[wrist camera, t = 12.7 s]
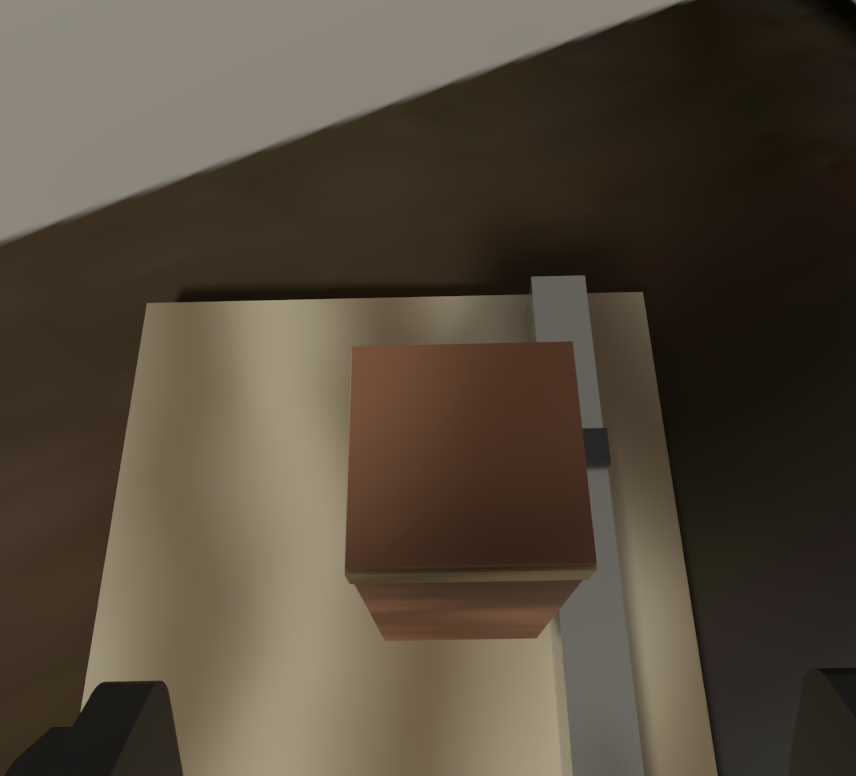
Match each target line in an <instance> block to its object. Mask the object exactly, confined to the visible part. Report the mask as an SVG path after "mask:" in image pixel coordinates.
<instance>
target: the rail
mask: <svg viewBox="0 0 856 776" xmlns="http://www.w3.org/2000/svg"><path fill="white" fill-rule="evenodd" d="M526 321H527V334H528V342H567V341H573V347H574V356H575V366H576V375H577V384H578V393H579V403H580V412H581V421H582V431H583V440H584V449H585V458H586V468H587V477H588V486H589V495H590V505H591V514H592V523H593V532H594V542H595V551H596V560H597V563H596V566H597V570H596V571H595V573H594V574H593V575H592V576H591V577H590V579H589V580H583V581H582V582H581V583H580V584H579V586H578V587H577V588H576V589H575V591H574V592H573V593H572V594H571V596H570V597H569V598H568V599H567V601H566V602H565V603H564V604H563V606H562V607H561V608H560V609H559V611H558V612H557V613H556V614H555V616H554V617H553V618H552V620H551V621H550V627H551V640H552V653H553V666H554V678H555V691H556V704H557V717H558V729H559V742H560V755H561V768H562V776H644V769H643V761H642V752H641V744H640V736H639V727H638V719H637V710H636V702H635V693H634V685H633V677H632V668H631V660H630V651H629V643H628V634H627V626H626V618H625V609H624V601H623V592H622V584H621V575H620V567H619V559H618V550H617V542H616V533H615V525H614V516H613V508H612V500H611V491H610V483H609V474H608V466H610V464H611V458H610V449H609V441H608V433H607V428H603V424H602V415H601V407H600V399H599V390H598V382H597V373H596V365H595V356H594V348H593V340H592V331H591V323H590V314H589V306H588V297H587V289H586V281H585V275H583V276H540V277H531V280H530V286H529V291H528V297H527V302H526Z"/></svg>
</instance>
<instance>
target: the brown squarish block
mask: <svg viewBox="0 0 856 776" xmlns="http://www.w3.org/2000/svg"><path fill="white" fill-rule="evenodd" d="M596 563H597V560H596V551H595V542H594V532H593V523H592V514H591V505H590V495H589V486H588V477H587V468H586V458H585V449H584V440H583V431H582V421H581V412H580V403H579V393H578V384H577V375H576V366H575V356H574V347H573V341H567V342H524V343H481V344H438V345H395V346H352V352H351V375H350V408H349V441H348V474H347V508H346V541H345V574H344V575H345V577H346V578H347V580H348V582H349V584H355V586H356V588H357V590H358V592H359V594H360V596H361V597H362V599H363V601H364V603H365V605H366V607H367V609H368V610H369V612H370V614H371V616H372V618H373V620H374V622H375V624H376V625H377V627H378V629H379V631H380V633H381V635H382V637H383V638H384V640H385V641H425V640H479V639H532V638H537V637H538V636H539V635H540V633H541V632H542V631H543V630H544V628H545V627H546V626H547V625H548V623H549V622H550V621H551V620H552V618H553V617H554V616H555V614H556V613H557V612H558V611H559V609H560V608H561V607H562V606H563V604H564V603H565V602H566V601H567V599H568V598H569V597H570V596H571V594H572V593H573V592H574V591H575V589H576V588H577V587H578V586H579V584H580V583H581V582H582V581H583V580H589V579H590V577H591V576H592V575H593V574H594V573H595V571H596V570H597V566H596Z"/></svg>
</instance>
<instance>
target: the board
mask: <svg viewBox="0 0 856 776" xmlns="http://www.w3.org/2000/svg"><path fill="white" fill-rule="evenodd" d="M527 297H528V295H486V296H442V297H398V298H354V299H310V300H265V301H221V302H177V303H147V307H146V313H145V319H144V326H143V332H142V338H141V344H140V350H139V356H138V362H137V368H136V375H135V381H134V387H133V393H132V399H131V405H130V411H129V418H128V424H127V430H126V436H125V442H124V448H123V454H122V461H121V467H120V473H119V479H118V485H117V491H116V497H115V503H114V510H113V516H112V522H111V528H110V534H109V540H108V546H107V553H106V559H105V565H104V571H103V577H102V583H101V589H100V596H99V602H98V608H97V614H96V620H95V626H94V632H93V638H92V645H91V651H90V657H89V663H88V669H87V675H86V681H85V688H84V694H83V700H82V706H81V711H82V709H83V708H84V706H85V704H86V702H87V701H88V699H89V697H90V695H91V694H92V692H93V691H94V689H95V688H96V687H97V686H98V684H100V683H101V682H114V681H163V682H164V683H165V684H166V685H167V688H168V691H169V695H170V701H171V707H172V712H173V718H174V724H175V730H176V736H177V741H178V747H179V753H180V759H181V765H182V771H183V776H562V768H561V755H560V742H559V729H558V717H557V704H556V691H555V678H554V666H553V653H552V640H551V627H550V622H549V623H548V625H547V626H546V627H545V628H544V630H543V631H542V632H541V633H540V635H539V636H538V637H537V638H532V639H479V640H425V641H385V640H384V638H383V637H382V635H381V633H380V631H379V629H378V627H377V625H376V624H375V622H374V620H373V618H372V616H371V614H370V612H369V610H368V609H367V607H366V605H365V603H364V601H363V599H362V597H361V596H360V594H359V592H358V590H357V588H356V586H355V584H349V582H348V580H347V578H346V577H345V575H344V574H345V541H346V508H347V474H348V441H349V408H350V375H351V352H352V346H395V345H438V344H481V343H524V342H528V334H527V321H526V302H527ZM587 297H588V306H589V314H590V323H591V331H592V340H593V348H594V356H595V365H596V373H597V382H598V390H599V399H600V407H601V415H602V424H603V428H607V433H608V441H609V449H610V458H611V464H610V466H608V474H609V483H610V491H611V500H612V508H613V516H614V525H615V533H616V542H617V550H618V559H619V567H620V575H621V584H622V592H623V601H624V609H625V618H626V626H627V634H628V643H629V651H630V660H631V668H632V677H633V685H634V693H635V702H636V710H637V719H638V727H639V736H640V744H641V752H642V761H643V769H644V776H718V775H717V768H716V762H715V755H714V749H713V742H712V736H711V729H710V723H709V716H708V710H707V703H706V697H705V691H704V684H703V678H702V671H701V665H700V658H699V652H698V645H697V639H696V632H695V626H694V619H693V613H692V607H691V600H690V594H689V587H688V581H687V574H686V568H685V561H684V555H683V548H682V542H681V535H680V529H679V522H678V516H677V510H676V503H675V497H674V490H673V484H672V477H671V471H670V464H669V458H668V451H667V445H666V438H665V432H664V426H663V419H662V413H661V406H660V400H659V393H658V387H657V380H656V374H655V367H654V361H653V354H652V348H651V342H650V335H649V329H648V322H647V316H646V309H645V303H644V296H643V292H619V293H587ZM80 713H81V712H80Z"/></svg>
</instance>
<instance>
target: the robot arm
mask: <svg viewBox="0 0 856 776" xmlns="http://www.w3.org/2000/svg"><path fill="white" fill-rule="evenodd" d="M5 776H183V771H182V765H181V759H180V753H179V747H178V741H177V736H176V730H175V724H174V718H173V712H172V707H171V701H170V695H169V691H168V688H167V685H166V684H165V683H164V682H163V681H114V682H101V683H100V684H98V686H97V687H96V688H95V689H94V691H93V692H92V694H91V695H90V697H89V699H88V701H87V702H86V704H85V706H84V708H83V709H82V711H81V713H80V715H79V716H78V718H77V720H76V722H75V723H74V725H73V727H52V728H51V729H49V730H48V731H47V732H46V733H45V734H44V735H43V736H42V737H40V738H39V739H38V740H37V741H36V742H35V743H34V744H33V745H31V746H30V747H29V748H28V749H27V750H26V751H25V752H24V753H22V754H21V755H20V756H19V757H18V758H17V759H16V760H15V761H13V763H12V765H11V766H10V768H9V769H8V771H7V773H6V774H5ZM789 776H856V668H823V669H810V670H809V671H808V672H807V673H806V675H805V677H804V680H803V684H802V690H801V696H800V702H799V708H798V714H797V720H796V726H795V732H794V737H793V743H792V749H791V755H790V762H789Z"/></svg>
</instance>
